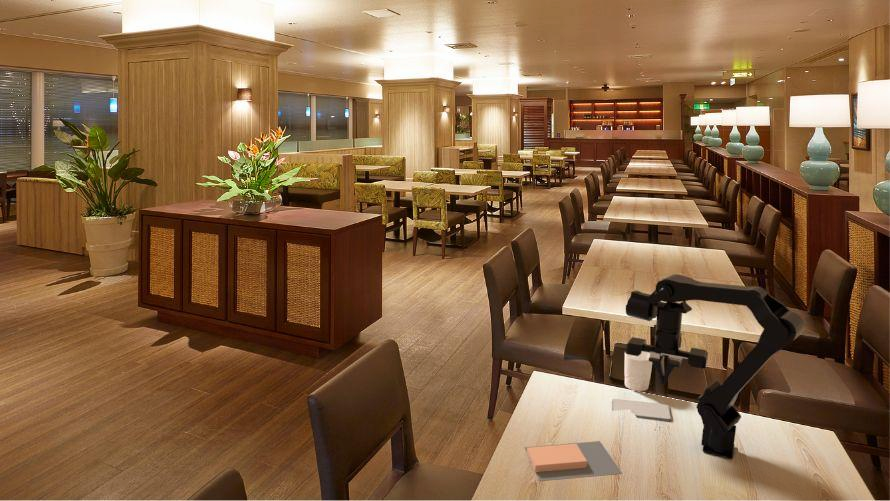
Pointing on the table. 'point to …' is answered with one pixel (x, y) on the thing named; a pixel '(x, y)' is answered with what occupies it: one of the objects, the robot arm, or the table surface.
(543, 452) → the terracotta tile
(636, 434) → the table surface
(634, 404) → the smartphone
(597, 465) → the rubber mat
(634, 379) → the white cup
